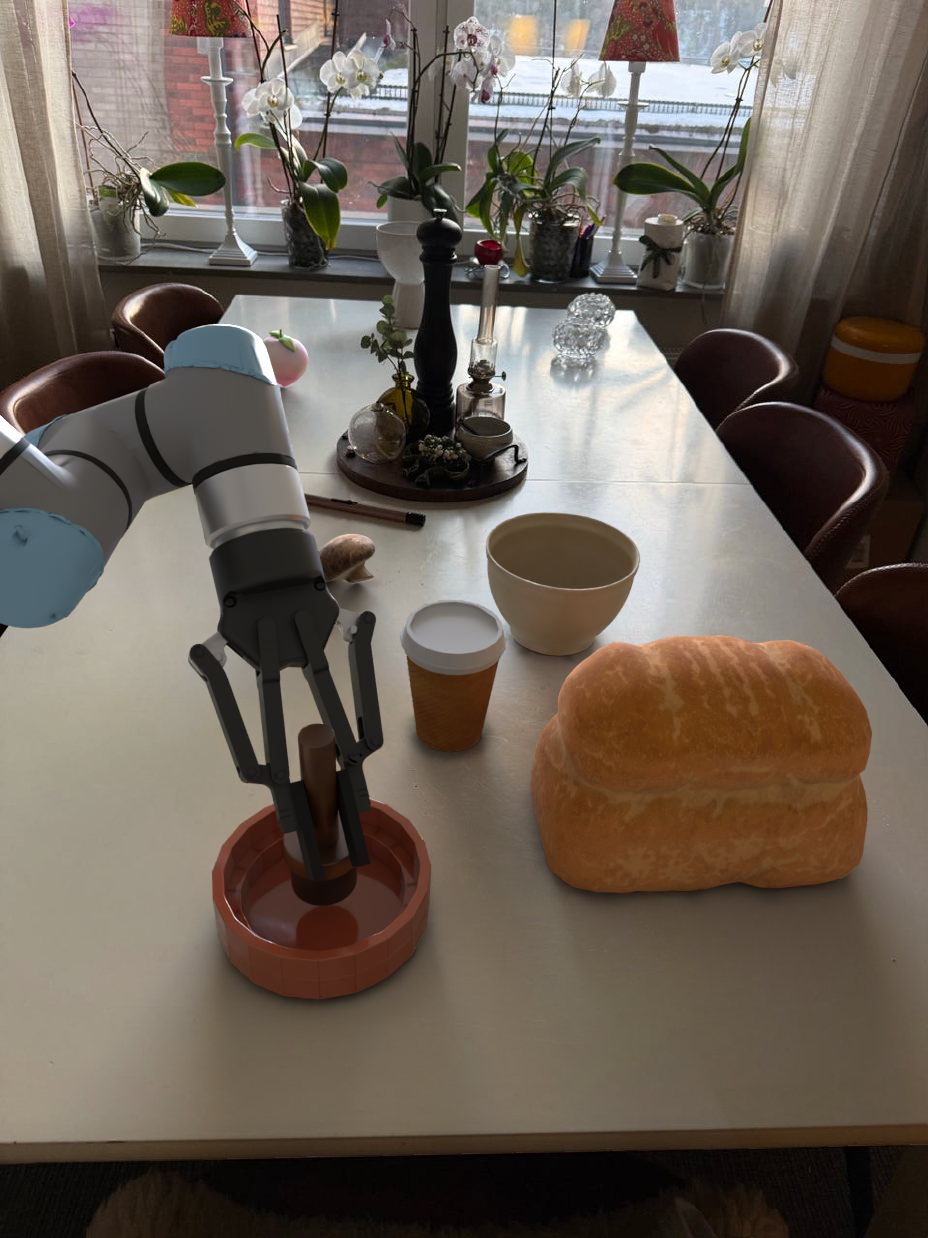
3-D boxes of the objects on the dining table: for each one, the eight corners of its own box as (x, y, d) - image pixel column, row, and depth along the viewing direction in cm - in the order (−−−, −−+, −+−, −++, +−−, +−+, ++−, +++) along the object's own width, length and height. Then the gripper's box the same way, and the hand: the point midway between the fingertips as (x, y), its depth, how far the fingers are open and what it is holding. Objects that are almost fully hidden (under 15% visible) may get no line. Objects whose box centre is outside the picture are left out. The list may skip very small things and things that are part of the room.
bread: (871, 893, 75) (942, 728, 65) (549, 907, 72) (575, 737, 63) (795, 760, 88) (845, 606, 78) (520, 768, 85) (537, 609, 76)
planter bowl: (457, 653, 100) (463, 565, 94) (508, 582, 112) (515, 500, 106) (604, 693, 95) (619, 603, 89) (639, 614, 108) (654, 531, 102)
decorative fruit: (247, 383, 164) (242, 326, 159) (287, 374, 169) (283, 318, 163) (277, 399, 158) (273, 340, 153) (317, 389, 163) (315, 332, 158)
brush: (290, 915, 66) (277, 768, 58) (284, 858, 70) (271, 713, 63) (366, 903, 67) (363, 757, 59) (355, 847, 72) (351, 704, 64)
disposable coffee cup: (508, 760, 86) (518, 653, 79) (404, 767, 84) (406, 660, 78) (488, 696, 94) (496, 594, 87) (394, 702, 92) (394, 599, 86)
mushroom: (398, 566, 108) (368, 520, 106) (341, 606, 106) (310, 560, 104) (379, 565, 115) (352, 522, 114) (326, 602, 113) (297, 559, 112)
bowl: (222, 1025, 63) (214, 979, 60) (216, 851, 75) (210, 806, 72) (448, 983, 66) (451, 938, 63) (407, 824, 79) (408, 780, 76)
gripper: (354, 539, 73) (429, 840, 69) (147, 574, 67) (218, 902, 64) (376, 507, 66) (461, 840, 62) (147, 543, 60) (227, 910, 57)
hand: (338, 871), depth 63 cm, fingers closed on brush, 2 cm apart
